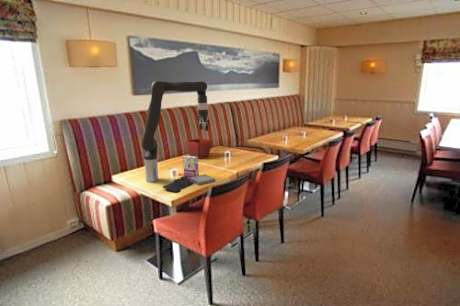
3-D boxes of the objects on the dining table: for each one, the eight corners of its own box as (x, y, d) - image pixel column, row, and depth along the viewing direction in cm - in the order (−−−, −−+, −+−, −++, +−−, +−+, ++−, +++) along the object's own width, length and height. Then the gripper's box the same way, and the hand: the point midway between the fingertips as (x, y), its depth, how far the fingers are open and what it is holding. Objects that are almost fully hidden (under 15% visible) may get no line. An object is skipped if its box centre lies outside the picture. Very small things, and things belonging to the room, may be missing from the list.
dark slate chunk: (159, 189, 206) (158, 183, 205) (179, 180, 224) (179, 174, 223) (176, 193, 198) (175, 186, 197) (196, 183, 217) (195, 177, 216)
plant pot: (199, 154, 306) (198, 138, 302) (213, 156, 294) (212, 140, 290) (185, 157, 291) (184, 141, 287) (199, 160, 279) (198, 143, 276)
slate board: (189, 180, 222) (189, 177, 222) (205, 176, 230) (205, 174, 230) (198, 185, 211) (198, 182, 211) (214, 181, 219) (214, 178, 219)
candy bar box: (199, 176, 231) (198, 156, 227) (195, 178, 226) (194, 158, 223) (187, 175, 236) (186, 155, 232) (183, 176, 232) (182, 156, 228)
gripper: (212, 109, 218) (212, 130, 222) (202, 108, 229) (203, 128, 233) (203, 109, 214) (204, 131, 217) (193, 108, 225) (195, 129, 229)
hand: (203, 130), depth 225 cm, fingers open, 8 cm apart
